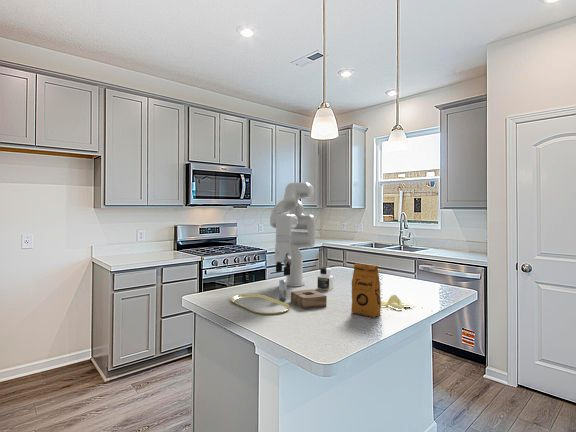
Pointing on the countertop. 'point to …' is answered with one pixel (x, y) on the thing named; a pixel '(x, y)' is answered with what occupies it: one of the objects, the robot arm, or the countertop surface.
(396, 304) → the cloth
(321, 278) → the medicine bottle
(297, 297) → the bore block
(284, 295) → the pin
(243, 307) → the wavy rubber band
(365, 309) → the coffee package
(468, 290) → the countertop surface
